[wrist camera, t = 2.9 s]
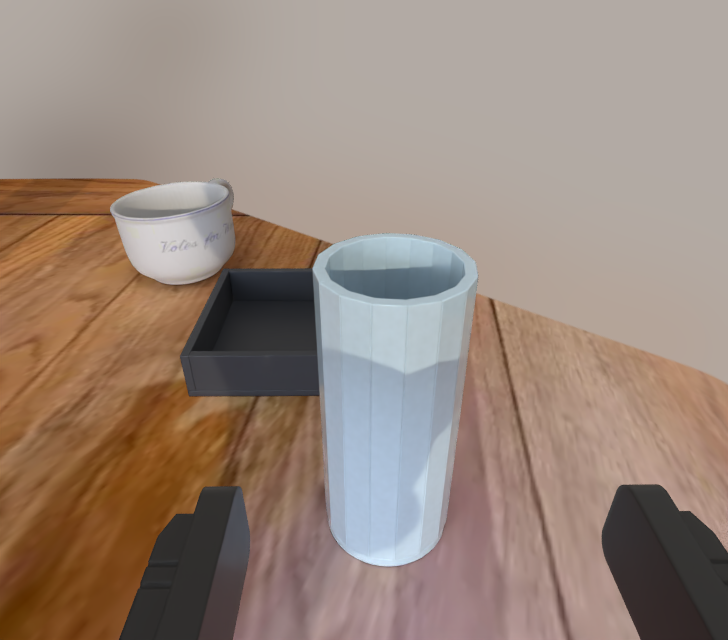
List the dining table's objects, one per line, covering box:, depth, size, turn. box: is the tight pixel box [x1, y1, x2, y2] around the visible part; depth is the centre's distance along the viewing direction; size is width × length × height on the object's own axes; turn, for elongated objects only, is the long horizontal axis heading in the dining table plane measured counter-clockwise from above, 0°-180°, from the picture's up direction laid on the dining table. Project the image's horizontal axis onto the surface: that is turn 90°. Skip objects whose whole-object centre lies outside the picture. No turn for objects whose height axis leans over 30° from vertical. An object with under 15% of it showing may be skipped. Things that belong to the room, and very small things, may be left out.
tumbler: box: [313, 233, 478, 566], centre depth 24 cm, size 6×6×15 cm
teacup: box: [110, 178, 235, 285], centre depth 52 cm, size 14×11×8 cm
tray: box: [180, 269, 320, 396], centre depth 41 cm, size 13×13×4 cm
